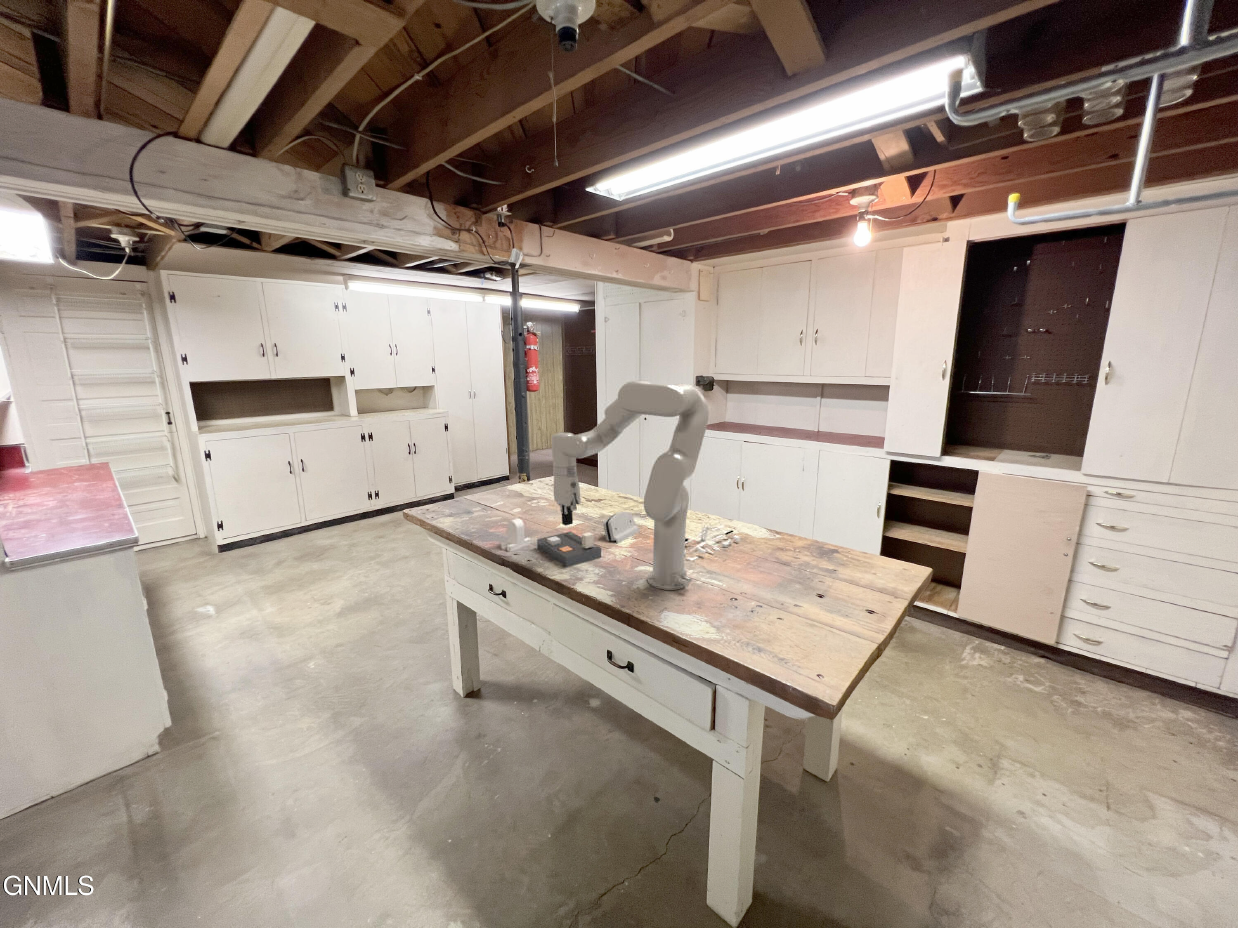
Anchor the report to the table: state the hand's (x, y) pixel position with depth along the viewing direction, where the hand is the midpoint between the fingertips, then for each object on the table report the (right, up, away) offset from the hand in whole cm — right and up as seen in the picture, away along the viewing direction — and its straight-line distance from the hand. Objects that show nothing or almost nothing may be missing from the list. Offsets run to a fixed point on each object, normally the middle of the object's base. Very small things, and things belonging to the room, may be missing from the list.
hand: (567, 524), depth 159 cm
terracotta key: (-1, -11, +3) cm, 11 cm away
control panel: (0, -11, +8) cm, 14 cm away
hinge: (+18, -8, +26) cm, 32 cm away
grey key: (-6, -9, +9) cm, 14 cm away
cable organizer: (-20, -10, +14) cm, 27 cm away
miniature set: (+48, -11, +14) cm, 52 cm away
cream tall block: (+7, -8, +4) cm, 11 cm away
